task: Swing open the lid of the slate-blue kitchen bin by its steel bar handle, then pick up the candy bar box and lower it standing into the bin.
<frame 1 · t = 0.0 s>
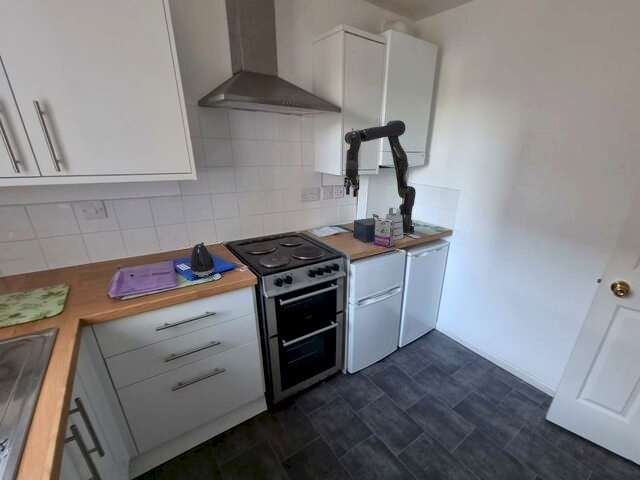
hand: (351, 195, 183), 29 cm above the worktop, tool pointing down, fingers open, 8 cm apart
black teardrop: (204, 275, 140), on the worktop
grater: (392, 237, 205), on the worktop
bin: (367, 238, 201), on the worktop
bin lid: (369, 218, 196), point 13 cm above the worktop, hinge at 0.0°
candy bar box: (383, 245, 188), on the worktop
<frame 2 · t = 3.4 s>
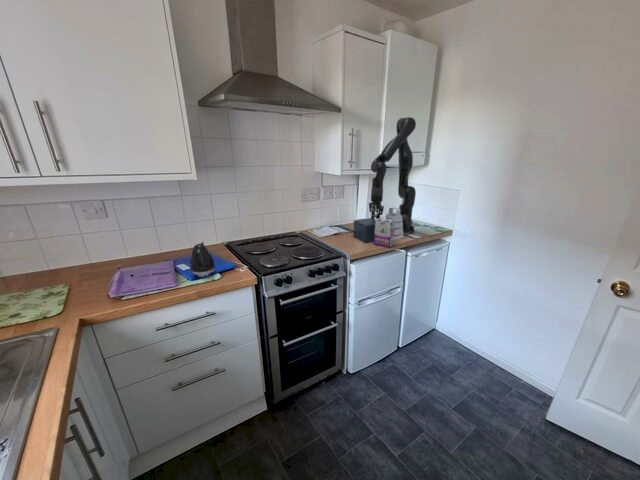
hand: (375, 219, 199), 12 cm above the worktop, tool pointing down, fingers closed on bin lid, 5 cm apart
bin lid: (369, 218, 196), point 13 cm above the worktop, hinge at 0.0°, touching gripper
everything else where it was.
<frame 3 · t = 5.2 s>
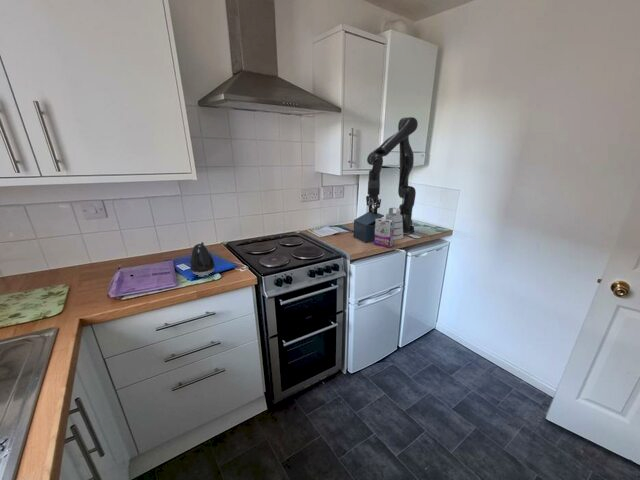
hand: (372, 213, 196), 17 cm above the worktop, tool pointing down, fingers closed on bin lid, 5 cm apart
bin lid: (367, 215, 194), point 16 cm above the worktop, hinge at 21.6°, touching gripper
everything else where it was.
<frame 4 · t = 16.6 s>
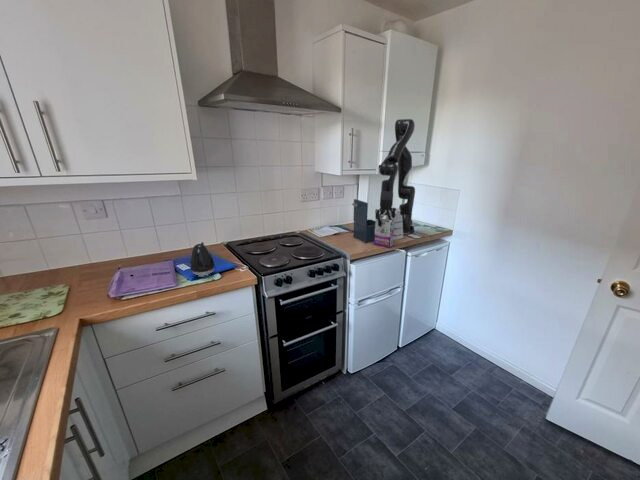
hand: (384, 225, 184), 13 cm above the worktop, tool pointing down, fingers closed on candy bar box, 6 cm apart
bin lid: (357, 212, 189), point 18 cm above the worktop, hinge at 90.5°
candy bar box: (383, 245, 188), on the worktop, touching gripper
everything else where it was.
when the fingers open (14 cm above the worktop, at t = 25.9 s): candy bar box stays where it is, resting on bin.
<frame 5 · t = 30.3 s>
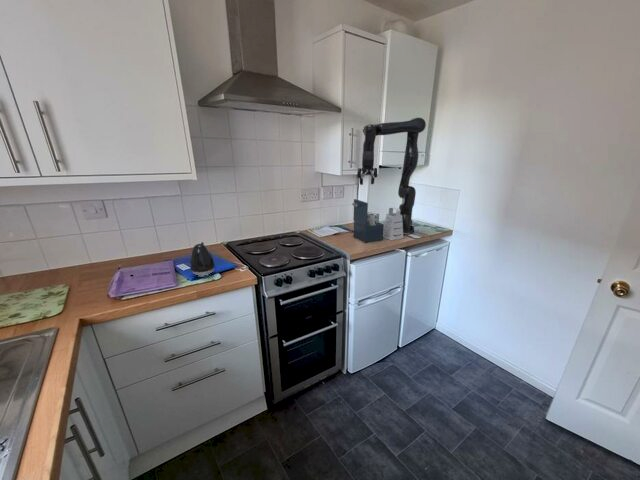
hand: (366, 184, 198), 34 cm above the worktop, tool pointing down, fingers open, 8 cm apart
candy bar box: (369, 237, 201), point 1 cm above the worktop, touching bin
everything else where it was.
at the end: bin lid at +90° (first picture: +0°); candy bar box inside the target area in the bin (1.0 cm from its centre), point 0.6 cm above the bin's base; the gripper is holding nothing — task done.
